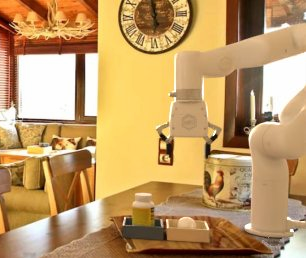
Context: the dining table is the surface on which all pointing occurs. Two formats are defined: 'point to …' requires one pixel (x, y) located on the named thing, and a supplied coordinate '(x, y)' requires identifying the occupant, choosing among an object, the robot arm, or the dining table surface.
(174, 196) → the dining table surface
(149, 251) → the dining table surface
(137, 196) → the pill bottle
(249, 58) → the robot arm
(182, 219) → the white ball
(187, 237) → the cream bin
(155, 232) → the slate bin
